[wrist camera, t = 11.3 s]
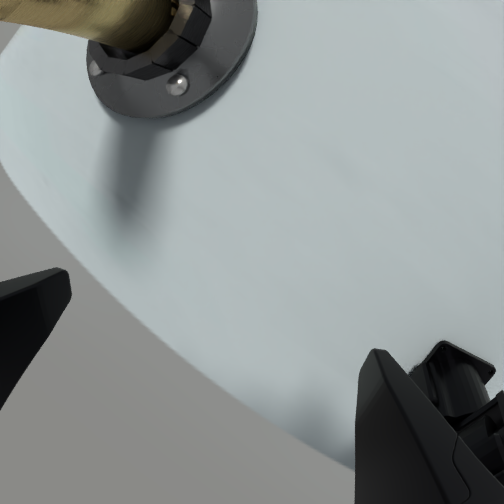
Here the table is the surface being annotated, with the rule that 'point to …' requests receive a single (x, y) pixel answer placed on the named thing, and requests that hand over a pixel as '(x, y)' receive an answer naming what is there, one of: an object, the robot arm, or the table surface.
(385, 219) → the table surface
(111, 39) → the brass pepper mill
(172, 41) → the grey flange
